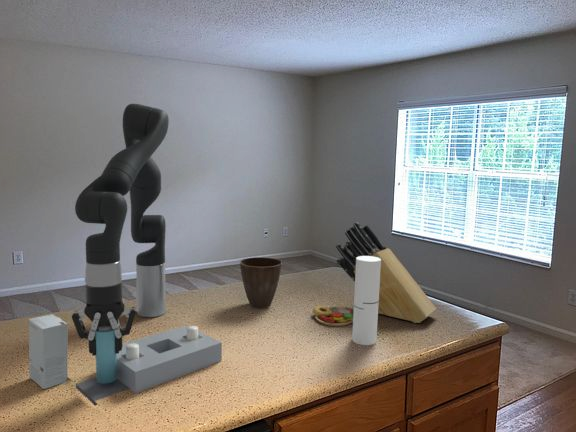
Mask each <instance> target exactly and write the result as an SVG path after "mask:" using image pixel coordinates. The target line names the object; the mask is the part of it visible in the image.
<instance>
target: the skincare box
mask: <svg viewBox="0 0 576 432" xmlns="http://www.w3.org/2000/svg"><path fill="white" fill-rule="evenodd" d="M68 331H69V330H68V323H67V322H66V321H64V320H63V319H62V318H60V317H58V316H56V315H55V314H52V313H51V314H47V315H42V316H37V317H32V318H29V319H28V352H29V353H28V355H29V356H28V362H29V363H28V367H29V368H28V369H29V370H28V372H29V379H31V380H32V381H34V383H36V384H37V385H38V386H39V387H40V388H41V389H42V390H46V389H50V388H52V387H54V386H58V385H61V384H64V383H67V382H68V381H69V380H68V378H69V377H68V372H69V371H68V369H69V368H68V361H69V360H68V355H69V354H68V344H69V343H68V341H69V340H68V337H69V336H68V333H69V332H68Z"/></svg>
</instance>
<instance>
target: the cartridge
mask: <svg viewBox="0 0 576 432" xmlns="http://www.w3.org/2000/svg"><path fill="white" fill-rule="evenodd" d="M115 338H116V335H115V332H114V330H113V328H112V326H111V325H102V326H97V329H96V332H95V346H96V355H95V370H96V371H95V373H96V374H95V375H96V376H95V377H96V378H97V382H98V383H102V384H105V383H111V382H113V381H115V380H116V379H117V358H116V347H115Z"/></svg>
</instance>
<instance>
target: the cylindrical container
mask: <svg viewBox="0 0 576 432" xmlns="http://www.w3.org/2000/svg"><path fill="white" fill-rule="evenodd" d="M380 269H381V259H380V258H378V257H373V256H359V257H356V272H355V281H354V293H353V294H354V295H353V296H354V297H353V298H354V299H353V312H352V314H353V321H352V336H351V337H352V338H351V340H352V342H353V343H355V344H358V345H361V346H373V345H375V344H376V343H377V336H378V335H377V334H378V317H379V313H378V304H379V287H380Z"/></svg>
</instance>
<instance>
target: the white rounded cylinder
mask: <svg viewBox="0 0 576 432" xmlns="http://www.w3.org/2000/svg"><path fill="white" fill-rule="evenodd" d="M137 358H139V345H138V344H135V343H133V344H128V345H126V360H128V361H130V360H134V359H137Z"/></svg>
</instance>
